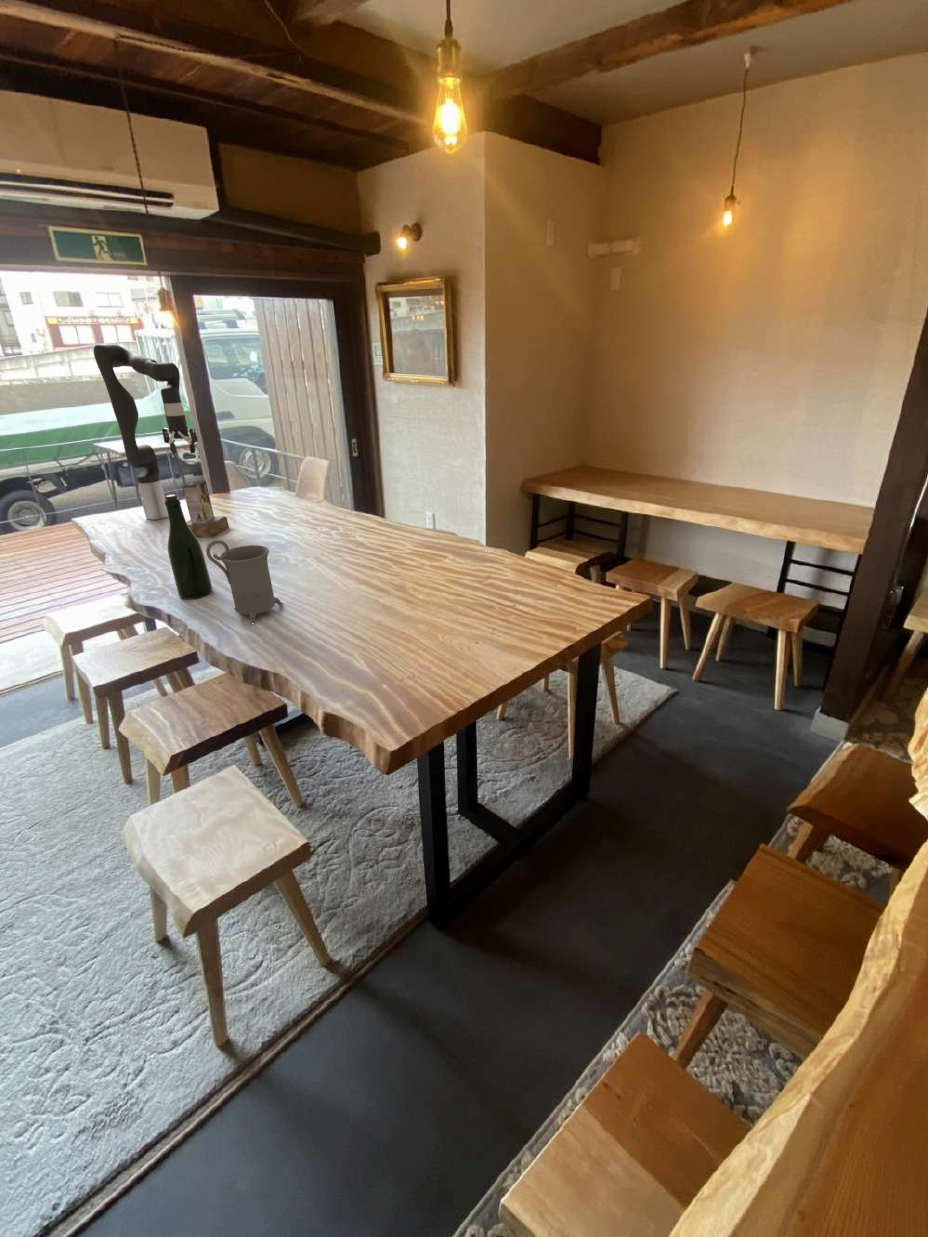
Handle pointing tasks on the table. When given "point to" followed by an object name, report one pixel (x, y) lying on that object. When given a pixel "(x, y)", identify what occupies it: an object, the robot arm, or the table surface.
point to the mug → (247, 577)
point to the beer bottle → (185, 554)
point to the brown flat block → (209, 527)
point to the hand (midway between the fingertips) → (183, 452)
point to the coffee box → (198, 502)
